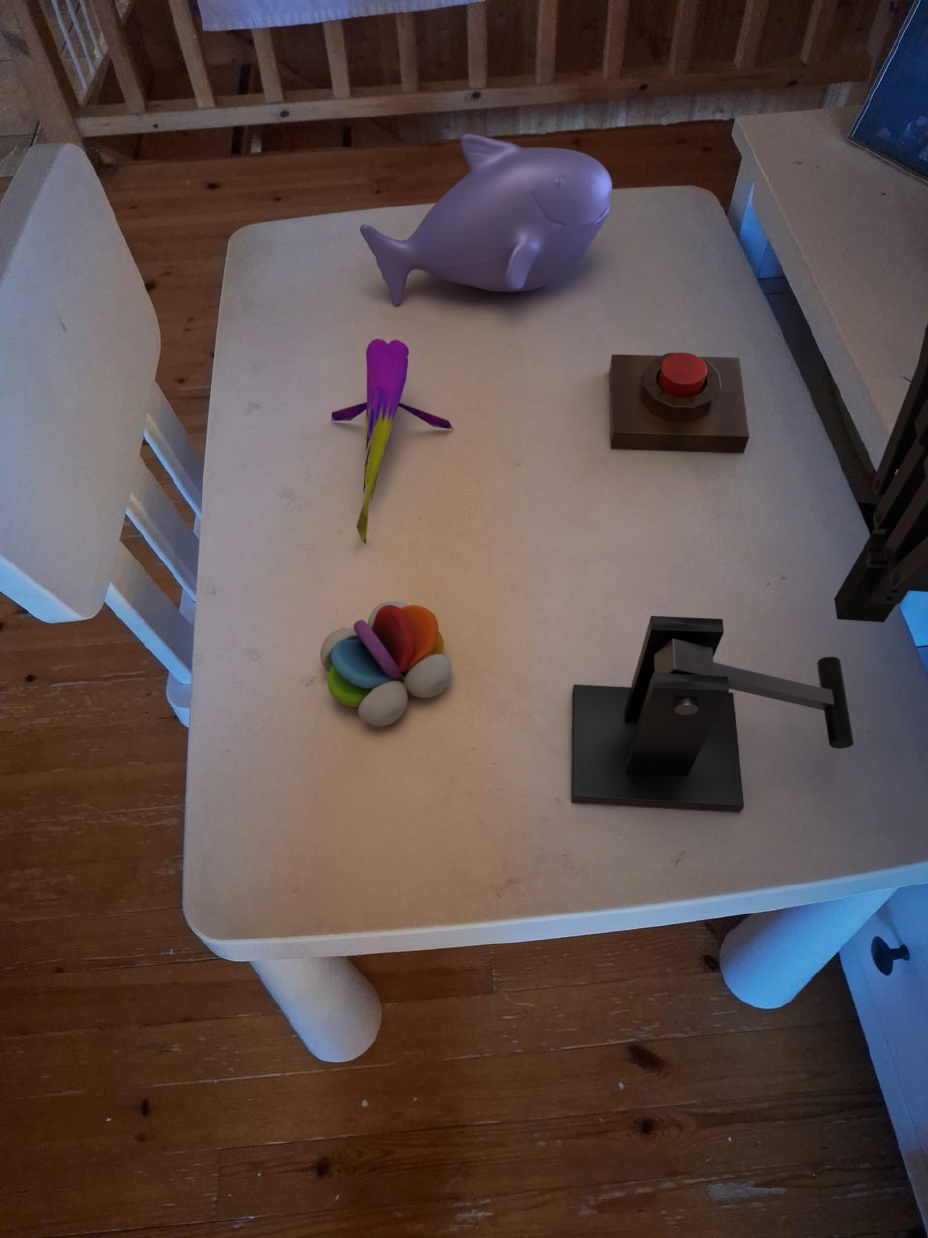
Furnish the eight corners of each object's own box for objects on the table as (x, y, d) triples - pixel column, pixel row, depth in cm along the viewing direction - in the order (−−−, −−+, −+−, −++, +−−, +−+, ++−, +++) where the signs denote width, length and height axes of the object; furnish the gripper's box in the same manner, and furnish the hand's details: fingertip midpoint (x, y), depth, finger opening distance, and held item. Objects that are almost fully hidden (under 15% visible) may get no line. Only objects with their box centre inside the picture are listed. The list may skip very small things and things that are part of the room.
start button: (701, 367, 83) (705, 352, 81) (704, 399, 80) (708, 384, 79) (657, 366, 83) (660, 351, 81) (659, 397, 81) (662, 383, 79)
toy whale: (638, 282, 88) (616, 104, 78) (393, 353, 90) (342, 187, 80) (606, 243, 99) (583, 82, 89) (387, 307, 100) (341, 156, 91)
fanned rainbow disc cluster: (470, 682, 70) (467, 635, 64) (363, 748, 68) (350, 705, 62) (411, 607, 74) (404, 555, 68) (309, 667, 72) (291, 619, 65)
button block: (734, 374, 87) (744, 342, 84) (743, 453, 82) (754, 422, 78) (609, 371, 88) (613, 339, 84) (610, 448, 82) (615, 417, 79)
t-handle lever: (826, 671, 61) (849, 655, 59) (838, 753, 58) (864, 739, 56) (652, 629, 58) (671, 611, 56) (656, 713, 55) (675, 697, 53)
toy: (460, 379, 86) (452, 314, 76) (436, 567, 80) (424, 523, 71) (339, 371, 87) (317, 306, 77) (307, 556, 81) (279, 512, 72)
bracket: (729, 699, 69) (782, 594, 56) (740, 813, 64) (799, 725, 52) (572, 691, 70) (589, 585, 57) (571, 803, 65) (589, 714, 52)
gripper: (937, 170, 37) (785, 520, 58) (1003, 396, 31) (805, 703, 51) (1127, 174, 37) (906, 527, 57) (1238, 406, 30) (943, 713, 50)
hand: (858, 610), depth 54 cm, fingers closed
